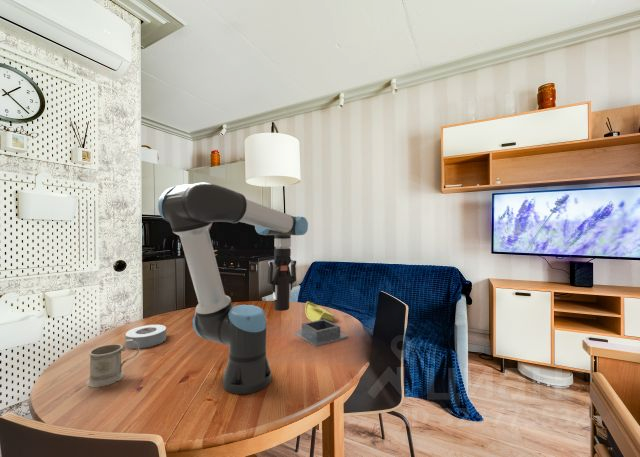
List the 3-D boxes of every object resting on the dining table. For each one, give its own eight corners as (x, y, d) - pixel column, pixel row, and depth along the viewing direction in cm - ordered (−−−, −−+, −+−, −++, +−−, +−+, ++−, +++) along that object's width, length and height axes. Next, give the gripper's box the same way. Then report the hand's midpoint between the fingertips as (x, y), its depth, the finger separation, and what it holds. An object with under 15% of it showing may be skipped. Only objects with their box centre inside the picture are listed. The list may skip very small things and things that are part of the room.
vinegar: (286, 311, 124) (287, 266, 125) (272, 310, 125) (272, 265, 126) (290, 307, 131) (291, 264, 131) (276, 306, 132) (277, 264, 132)
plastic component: (336, 317, 152) (322, 311, 147) (330, 329, 150) (316, 324, 146) (318, 305, 169) (305, 300, 164) (313, 317, 168) (300, 312, 163)
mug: (79, 389, 85) (80, 350, 85) (95, 373, 95) (95, 338, 95) (133, 382, 89) (134, 344, 90) (143, 368, 99) (144, 334, 99)
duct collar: (314, 346, 118) (314, 335, 118) (294, 333, 133) (294, 323, 133) (347, 337, 128) (348, 327, 128) (325, 326, 143) (325, 316, 143)
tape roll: (153, 349, 115) (153, 336, 115) (116, 349, 115) (116, 336, 115) (172, 335, 130) (173, 324, 130) (140, 335, 130) (140, 324, 130)
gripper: (296, 247, 137) (296, 294, 137) (259, 247, 126) (259, 299, 126) (304, 247, 131) (304, 297, 130) (266, 248, 120) (265, 302, 120)
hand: (281, 298), depth 128 cm, fingers closed on vinegar, 6 cm apart
